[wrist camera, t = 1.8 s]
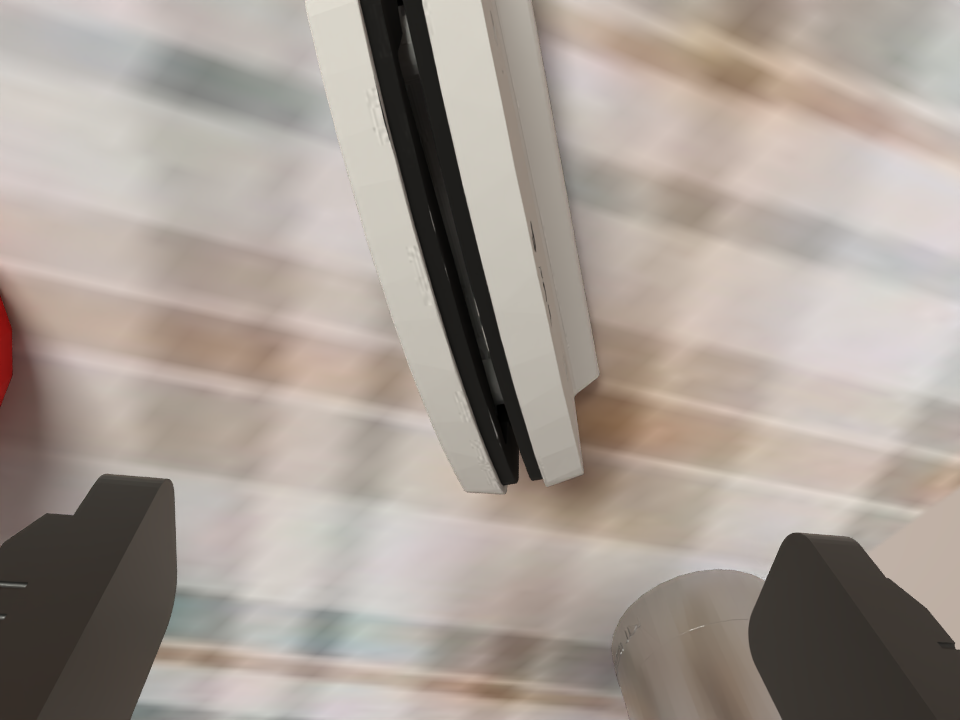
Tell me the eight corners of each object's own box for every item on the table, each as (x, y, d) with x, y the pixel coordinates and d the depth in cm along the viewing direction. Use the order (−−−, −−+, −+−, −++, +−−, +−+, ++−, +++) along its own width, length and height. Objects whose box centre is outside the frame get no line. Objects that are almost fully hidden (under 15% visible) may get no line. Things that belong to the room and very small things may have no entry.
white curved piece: (596, 360, 29) (635, 543, 21) (482, 381, 30) (474, 567, 22) (508, -123, 21) (512, -143, 12) (352, -78, 22) (254, -68, 13)
